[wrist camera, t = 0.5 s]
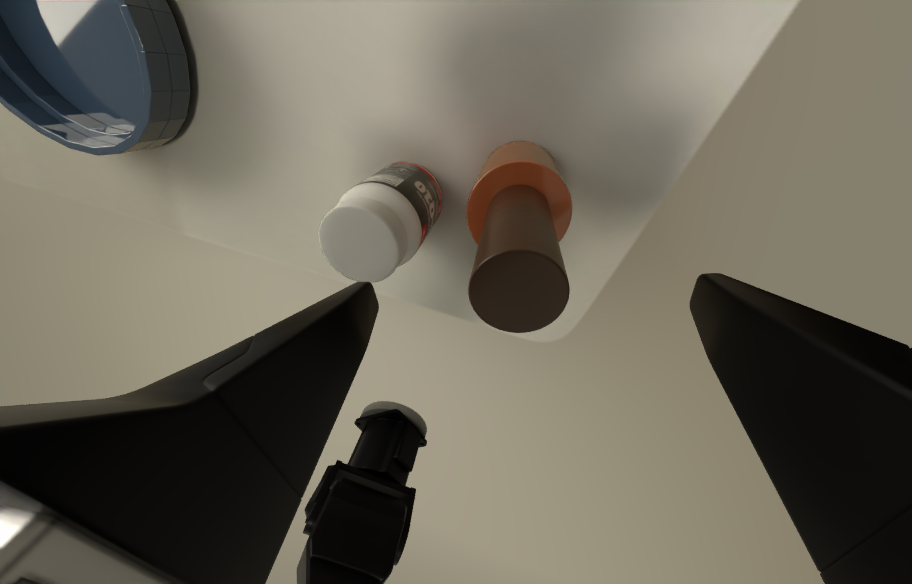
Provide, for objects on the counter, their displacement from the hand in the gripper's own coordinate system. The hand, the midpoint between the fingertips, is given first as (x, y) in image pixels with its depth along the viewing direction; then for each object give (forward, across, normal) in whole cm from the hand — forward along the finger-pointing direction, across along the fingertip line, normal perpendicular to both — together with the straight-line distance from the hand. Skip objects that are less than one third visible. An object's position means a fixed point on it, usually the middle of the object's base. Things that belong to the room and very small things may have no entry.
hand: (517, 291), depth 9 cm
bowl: (+13, +25, -11) cm, 31 cm away
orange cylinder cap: (+13, 0, +1) cm, 13 cm away
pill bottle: (+13, +8, +1) cm, 15 cm away
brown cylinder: (+4, 0, 0) cm, 4 cm away
